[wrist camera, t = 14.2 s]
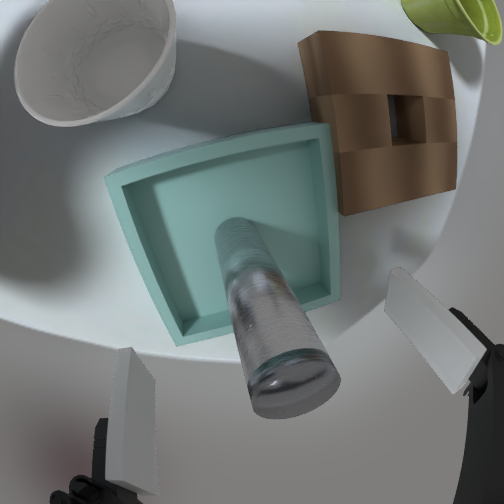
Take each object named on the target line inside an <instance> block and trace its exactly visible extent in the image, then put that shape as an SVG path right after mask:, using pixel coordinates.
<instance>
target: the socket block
mask: <svg viewBox="0 0 504 504" xmlns="http://www.w3.org/2000/svg"><path fill="white" fill-rule="evenodd" d="M298 47H299V51H300V56H301V61H302V66H303V71H304V76H305V81H306V86H307V92H308V97H309V103H310V109H311V115H312V122H319V123H329V124H330V131H331V139H332V147H333V156H334V166H335V176H336V188H337V201H338V212H339V213H340V214H342V215H343V216H348V215H352V214H356V213H360V212H364V211H368V210H372V209H376V208H380V207H384V206H388V205H392V204H396V203H400V202H404V201H409V200H413V199H417V198H421V197H425V196H429V195H433V194H438V193H442V192H446V191H450V190H454V189H456V178H457V124H456V109H455V98H454V89H453V81H452V75H451V68H450V63H449V57H448V52H446V51H442V50H439V49H436V48H432V47H428V46H424V45H421V44H416V43H412V42H408V41H403V40H398V39H393V38H387V37H381V36H375V35H368V34H359V33H350V32H338V31H317V32H315V33H314V34H312V35H310V36H309V37H307V38H305V39H304V40H302V41H300V42H299V43H298ZM387 95H394V99H395V108H396V117H397V129H398V137H393V138H391V126H390V116H389V107H388V99H387Z"/></svg>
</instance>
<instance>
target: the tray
mask: <svg viewBox="0 0 504 504" xmlns="http://www.w3.org/2000/svg"><path fill="white" fill-rule="evenodd" d="M104 179H105V182H106V185H107V188H108V191H109V194H110V197H111V200H112V203H113V206H114V208H115V211H116V214H117V217H118V220H119V222H120V225H121V228H122V230H123V233H124V235H125V238H126V240H127V243H128V245H129V248H130V250H131V253H132V255H133V258H134V260H135V262H136V265H137V267H138V269H139V271H140V274H141V276H142V278H143V280H144V283H145V285H146V287H147V289H148V291H149V293H150V296H151V298H152V300H153V302H154V304H155V306H156V308H157V310H158V312H159V314H160V316H161V318H162V320H163V322H164V324H165V326H166V328H167V330H168V332H169V334H170V335H171V337H172V339H173V341H174V343H175V345H176V346H181V345H185V344H190V343H194V342H198V341H202V340H206V339H211V338H215V337H219V336H222V335H226V334H230V333H234V330H233V325H232V321H231V317H230V312H229V308H228V303H227V299H226V294H225V289H224V285H223V280H222V275H221V271H220V266H219V261H218V256H217V251H216V246H215V241H214V236H215V232H216V230H217V228H218V227H219V225H220V224H221V223H223V222H224V221H225V220H227V219H230V218H234V217H241V218H245V219H248V220H249V221H251V222H252V223H253V224H254V225H255V227H256V229H257V230H258V232H259V234H260V235H261V237H262V239H263V241H264V242H265V244H266V246H267V247H268V249H269V251H270V253H271V254H272V256H273V258H274V260H275V261H276V263H277V265H278V267H279V268H280V270H281V272H282V273H283V275H284V277H285V279H286V280H287V282H288V284H289V286H290V287H291V289H292V291H293V293H294V294H295V296H296V298H297V300H298V302H299V303H300V305H301V307H302V309H303V310H304V312H306V311H309V310H312V309H315V308H318V307H321V306H324V305H327V304H330V303H333V302H335V301H338V300H340V238H339V217H338V201H337V188H336V176H335V166H334V156H333V147H332V139H331V131H330V124H329V123H319V122H309V123H302V124H294V125H288V126H281V127H275V128H269V129H263V130H258V131H253V132H247V133H243V134H238V135H233V136H228V137H224V138H220V139H215V140H211V141H207V142H203V143H199V144H195V145H191V146H188V147H184V148H180V149H177V150H173V151H170V152H167V153H163V154H160V155H157V156H153V157H150V158H147V159H144V160H141V161H138V162H135V163H132V164H129V165H126V166H124V167H121V168H118V169H115V170H114V171H112V172H111V173H109V174H108V175H107V176H105V177H104Z"/></svg>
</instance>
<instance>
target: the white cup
mask: <svg viewBox="0 0 504 504" xmlns="http://www.w3.org/2000/svg"><path fill="white" fill-rule="evenodd" d="M176 50H177V43H176V13H175V8H174V4H173V1H172V0H50V1H49V2H48V3H47V4H46V5H45V6H44V7H43V8H42V9H41V10H40V11H39V12H38V13H37V15H36V16H35V17H34V19H33V20H32V22H31V23H30V25H29V26H28V28H27V30H26V31H25V33H24V35H23V37H22V40H21V42H20V45H19V47H18V51H17V54H16V59H15V65H14V83H15V89H16V92H17V95H18V98H19V100H20V102H21V104H22V105H23V107H24V108H25V110H26V111H27V112H28V113H29V114H30V115H31V116H33V117H34V118H35V119H37V120H39V121H41V122H43V123H45V124H48V125H52V126H57V127H74V126H80V125H85V124H90V123H96V122H102V121H108V120H113V119H118V118H122V117H126V116H130V115H135V114H137V113H139V112H141V111H144V110H146V109H148V108H150V107H152V106H154V105H155V104H156V103H157V102H158V101H159V100H160V99H161V98H162V96H163V95H164V94H165V93H166V92H167V91H168V90H169V87H170V84H171V82H172V79H173V76H174V74H175V65H176Z"/></svg>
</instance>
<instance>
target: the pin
mask: <svg viewBox="0 0 504 504" xmlns="http://www.w3.org/2000/svg"><path fill="white" fill-rule="evenodd" d="M214 241H215V246H216V251H217V256H218V261H219V266H220V271H221V275H222V280H223V285H224V289H225V294H226V299H227V303H228V308H229V312H230V317H231V321H232V325H233V330H234V334H235V338H236V343H237V347H238V351H239V355H240V359H241V363H242V367H243V371H244V376H245V379H246V383H247V387H248V391H249V395H250V399H251V403H252V407H253V410H254V412H255V413H256V414H257V415H259V416H261V417H263V418H267V419H286V418H292V417H296V416H299V415H302V414H305V413H308V412H310V411H312V410H314V409H316V408H317V407H319V406H321V405H322V404H324V403H325V402H326V401H328V400H329V399H330V398H331V397H332V396H333V395H334V394H335V392H336V391H337V389H338V388H339V385H340V382H341V378H340V375H339V373H338V372H337V370H336V368H335V366H334V364H333V362H332V361H331V359H330V357H329V355H328V353H327V351H326V350H325V348H324V346H323V344H322V342H321V341H320V339H319V337H318V335H317V334H316V332H315V330H314V328H313V326H312V325H311V323H310V321H309V319H308V317H307V316H306V314H305V312H304V310H303V309H302V307H301V305H300V303H299V302H298V300H297V298H296V296H295V294H294V293H293V291H292V289H291V287H290V286H289V284H288V282H287V280H286V279H285V277H284V275H283V273H282V272H281V270H280V268H279V267H278V265H277V263H276V261H275V260H274V258H273V256H272V254H271V253H270V251H269V249H268V247H267V246H266V244H265V242H264V241H263V239H262V237H261V235H260V234H259V232H258V230H257V229H256V227H255V225H254V224H253V223H252V222H251V221H249V220H248V219H245V218H241V217H234V218H230V219H227V220H225V221H224V222H223V223H221V224H220V225H219V227H218V228H217V230H216V232H215V236H214Z"/></svg>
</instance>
